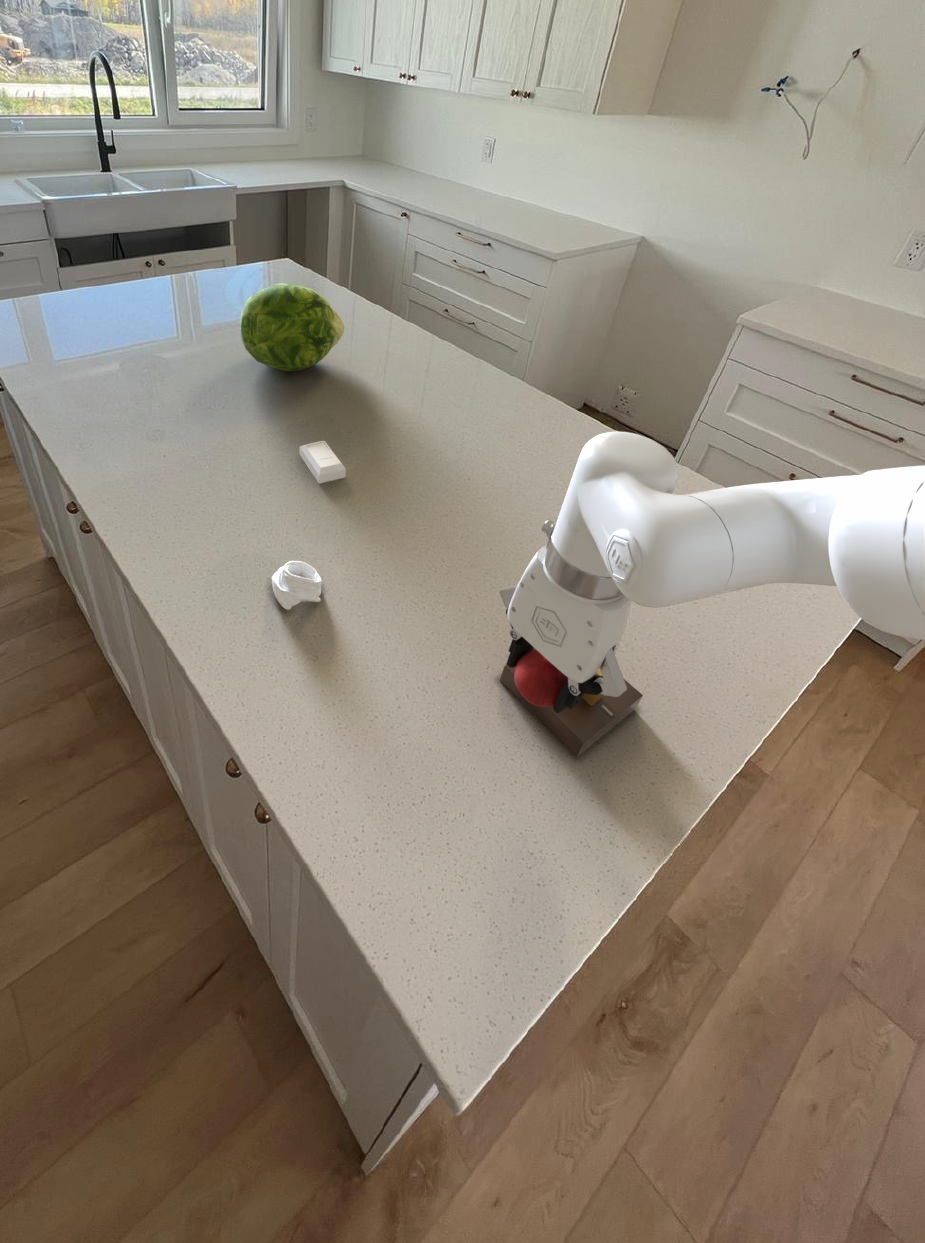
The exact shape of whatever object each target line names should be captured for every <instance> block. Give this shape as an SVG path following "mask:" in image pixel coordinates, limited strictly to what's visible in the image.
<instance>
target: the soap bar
mask: <svg viewBox="0 0 925 1243" xmlns="http://www.w3.org/2000/svg"><path fill="white" fill-rule="evenodd" d="M299 456H300V458H301V460H302V461H303V463H304V464H305V465H306V467H307V468H308V470H309V471H310V473H311V475H312V476H313V477H314V479H315V480H316V482H317V483H318V484H323V483H328V482H332V481H336V480H341V479H344V478H346V475H347V474H346V472H347V468H346V467H345V465H343V463H342V462H341V461H340V459H339V458H338V457H337V455H336V453H335V452H334V451H333V450H332V449H331V447H330V446H329V444H328V443H327V442H326V441H325V440H320V441H316V442H311V443H306V444H303V445H301V446H299Z"/></svg>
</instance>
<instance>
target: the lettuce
mask: <svg viewBox="0 0 925 1243" xmlns="http://www.w3.org/2000/svg"><path fill="white" fill-rule="evenodd" d="M239 333H240V337H241V342H242V345H243V346H244V349H245V350H246V351H247V352H248V353H249V355H250V356H251V357H252V358H253V359H254V360H255V361H256V362H257V363H260V364H262V365H264V366H267V367H270V368H272V369H276V370H279V371H282V372H296V371H297V372H298V371H303V370H307V369H310V368H311V367H313V366H315V365H316V364H318V363H319V362H321V361H322V360H323V359H324V358H325V357H326V356H327V355H329V353H330V351H331V350H332V349H333V348H334V347H335V346H336V345H337V344H338V343H339V342H340V340H341V339H342V337H343V335H344V333H345V323H344V321H343V319H342V317H341V316H340V315H339V313H338V312H337V311H336V310H335V309H333V308H332V307H331V305H330V304H329V302H328V301H327V300H326V299H325V298H324V297H323V296H322V295H320V294H319V293H318V292H317V291H316V290H313V289H311V288H310V287H307V286H304V285H298V284H291V283H285V282H284V283H283V282H281V283H274V284H271V285H269V286H267V287H265V288H263V289H261V290H259V291H257V292H254V293H252V294H251V295H250V296H249V297H248V298H247V300H246V301H245V302H244V305H243V306H242V309H241V312H240V317H239Z"/></svg>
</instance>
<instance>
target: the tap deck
mask: <svg viewBox="0 0 925 1243" xmlns="http://www.w3.org/2000/svg"><path fill="white" fill-rule="evenodd" d="M534 649H535V648H534V647H533V650H534ZM515 668H516V666H515V667H513V668H512V667H511V668H510V667H509V666H508V665H507V664H505V665H504V666H503V669H502V671H501V672H502V673H501V675H500V677H499V682H501V683H502V685H504V687H505V688H506V689H508V690H509V691H510V693H512V695H514V696H515V697H516V699H518V701H520V702H521V703H522V705H523V706H524V707H525V708H527V710H528V711H529V712H531V713H532V715H533V716H534V717H535V718H537V720H538V721H539V722H540V723H542V725H543V726H545V728H546V729H547V730H549V732H550V733H551V734H552V735H554V737H555V738H557V740H559V742H561V744H562V745H563V746H564V747H565V748H567V750H568V751H569V752H570V753H571V754H572V755H574V757H575V758H578V757H579V756H580V755H581V754H583V753H584V752H585V751H586V750H587V749H589V748H590V747H591V746H592V745H593V744H595V743H596V742H597V741H599V740H600V739H601V738H602V737H603V736H605V735H606V734H607V733H608V732H610V731H611V730H612V729H614V728H615V727H616V726H617V725H618V724H619V723H621V722H622V721H623V720H624V719H625V718H627V717H628V716H629V715H630V714H631V713H633V712H634V711H636V708H637V707H638V705H639V703H640V702H641V700H642V698H643V697H644V695H643V693H641V692H640V691H639V690H638V689H637V688H635V687H634V686H633V685H632V684H631V683H629V681H627V680H626V679H625V678H624V681H625V684H626V687H627V690H626V691H625V692H624V693H622V694H621V695H620V696H619V697H612V696H605V695H603V697H602V698H601V699H599V700H598V701H597V702H596V703H594V704H593V705H592V706H591V705H590V704H589V703H587V702H586V701H585V700H584V699H583V698H582V699H581V701H580V702H579V704H578V705H577V706H576V707H574V708H573V709H572V710H570V709H569V708H568V707H566V708H565V709H564V710H562V711H561V712H560V713H558V714H557V713H556V712H555V711H554V710H553V709H554V708H553V706H549V707H540V706H535V705H534V704H532V703H530V702H528V701H527V700H526V699H525V698H524V697H523V696H522V695H521V694H520V692H519V690H518V688H517V686H516V684H515V679H514V671H515Z"/></svg>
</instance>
